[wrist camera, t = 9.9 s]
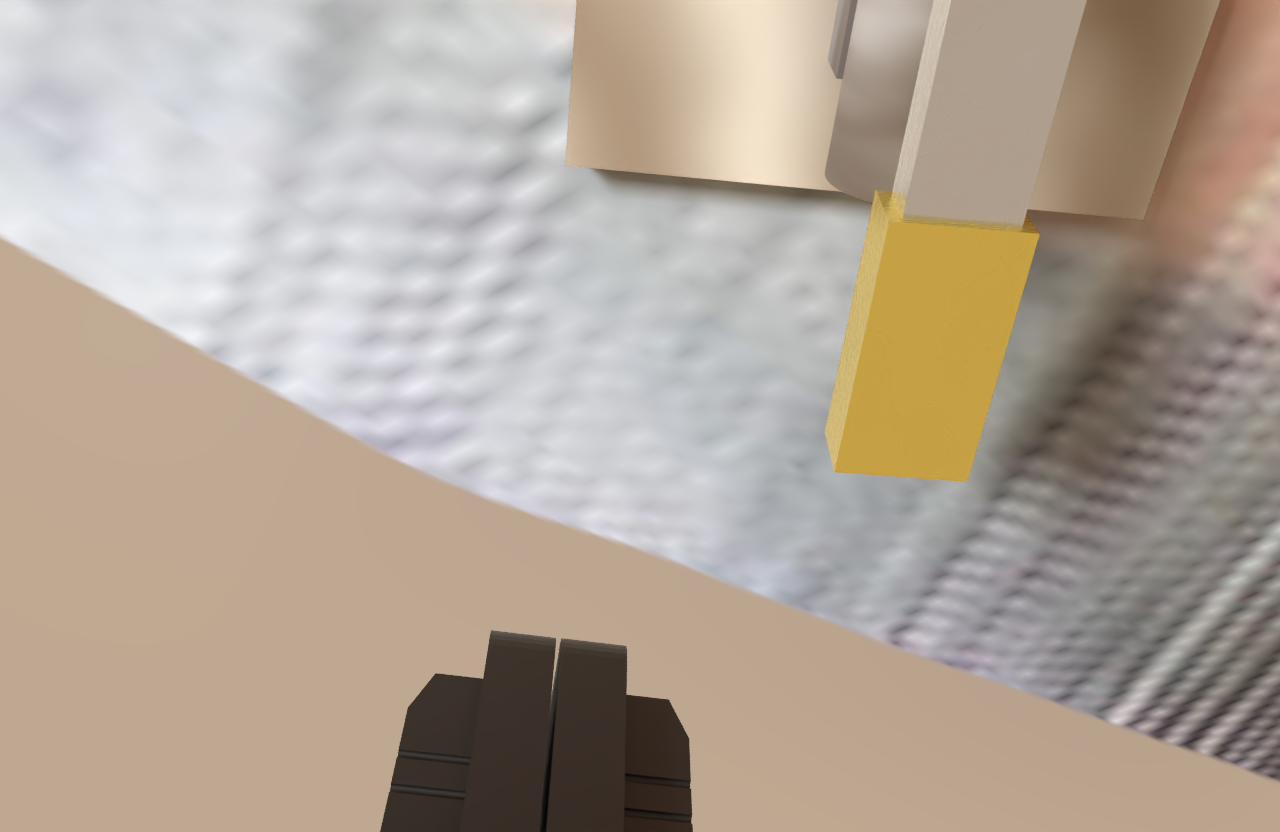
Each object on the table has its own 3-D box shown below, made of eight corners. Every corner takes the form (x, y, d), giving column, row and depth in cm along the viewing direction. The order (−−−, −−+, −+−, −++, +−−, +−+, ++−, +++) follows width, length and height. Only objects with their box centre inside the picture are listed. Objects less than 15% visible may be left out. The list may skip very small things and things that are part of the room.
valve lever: (970, -349, 21) (1012, -348, 18) (1140, -331, 21) (1204, -328, 19) (818, 404, 29) (834, 471, 27) (940, 414, 29) (967, 481, 27)
